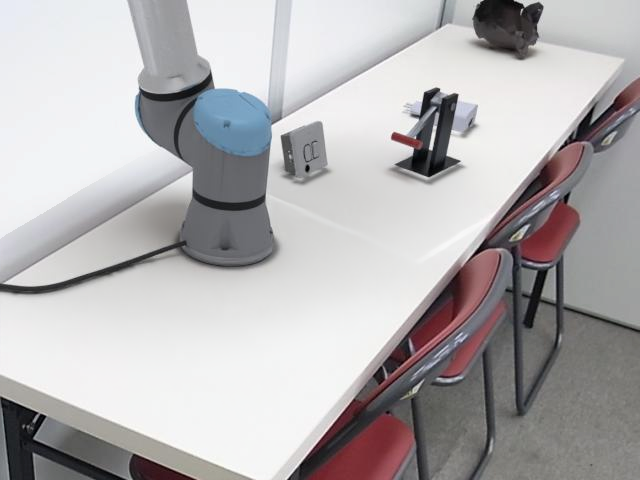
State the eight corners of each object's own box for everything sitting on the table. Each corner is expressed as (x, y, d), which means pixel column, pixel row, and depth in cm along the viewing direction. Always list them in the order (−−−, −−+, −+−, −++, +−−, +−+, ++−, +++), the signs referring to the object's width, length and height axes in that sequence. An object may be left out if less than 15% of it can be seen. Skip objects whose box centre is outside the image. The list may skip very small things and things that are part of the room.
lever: (418, 153, 168) (417, 143, 166) (391, 143, 171) (390, 133, 169) (457, 107, 171) (457, 97, 169) (430, 98, 174) (429, 88, 172)
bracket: (428, 182, 174) (443, 105, 165) (393, 169, 178) (406, 94, 169) (460, 166, 181) (476, 92, 172) (426, 154, 185) (439, 80, 176)
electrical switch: (299, 184, 169) (300, 134, 164) (277, 178, 172) (277, 129, 167) (328, 170, 175) (330, 122, 170) (306, 165, 178) (307, 117, 173)
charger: (409, 109, 206) (474, 124, 201) (396, 121, 199) (462, 137, 194) (413, 88, 203) (478, 103, 198) (399, 100, 196) (467, 115, 191)
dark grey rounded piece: (544, 48, 250) (476, 36, 259) (554, -8, 240) (483, -19, 249) (524, 64, 241) (455, 51, 250) (533, 6, 232) (461, -5, 241)
